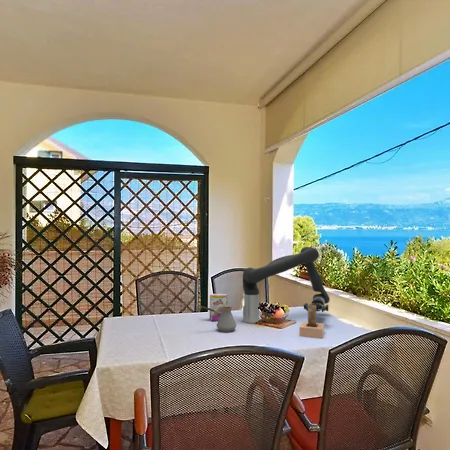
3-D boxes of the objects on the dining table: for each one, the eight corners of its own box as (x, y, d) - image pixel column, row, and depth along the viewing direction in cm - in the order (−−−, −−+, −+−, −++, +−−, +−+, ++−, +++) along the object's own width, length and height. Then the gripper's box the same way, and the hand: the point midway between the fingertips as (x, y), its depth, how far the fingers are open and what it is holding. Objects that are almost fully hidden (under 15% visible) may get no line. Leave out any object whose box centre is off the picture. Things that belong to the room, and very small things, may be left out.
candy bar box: (209, 321, 234) (209, 295, 234) (210, 319, 239) (210, 293, 239) (227, 321, 233) (227, 295, 233) (227, 319, 238) (227, 293, 238)
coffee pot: (232, 326, 223) (232, 301, 222) (239, 331, 212) (239, 305, 212) (197, 329, 216) (197, 303, 216) (202, 335, 205) (202, 308, 205)
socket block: (299, 335, 204) (299, 327, 204) (302, 330, 215) (302, 321, 215) (322, 338, 200) (322, 329, 200) (324, 332, 211) (324, 323, 211)
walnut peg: (307, 333, 206) (307, 306, 206) (308, 331, 210) (308, 304, 210) (315, 334, 205) (315, 306, 205) (316, 331, 209) (316, 305, 209)
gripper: (306, 297, 236) (302, 302, 220) (329, 298, 231) (327, 304, 215) (306, 309, 236) (302, 315, 221) (329, 310, 231) (327, 317, 216)
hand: (314, 309), depth 218 cm, fingers open, 8 cm apart
